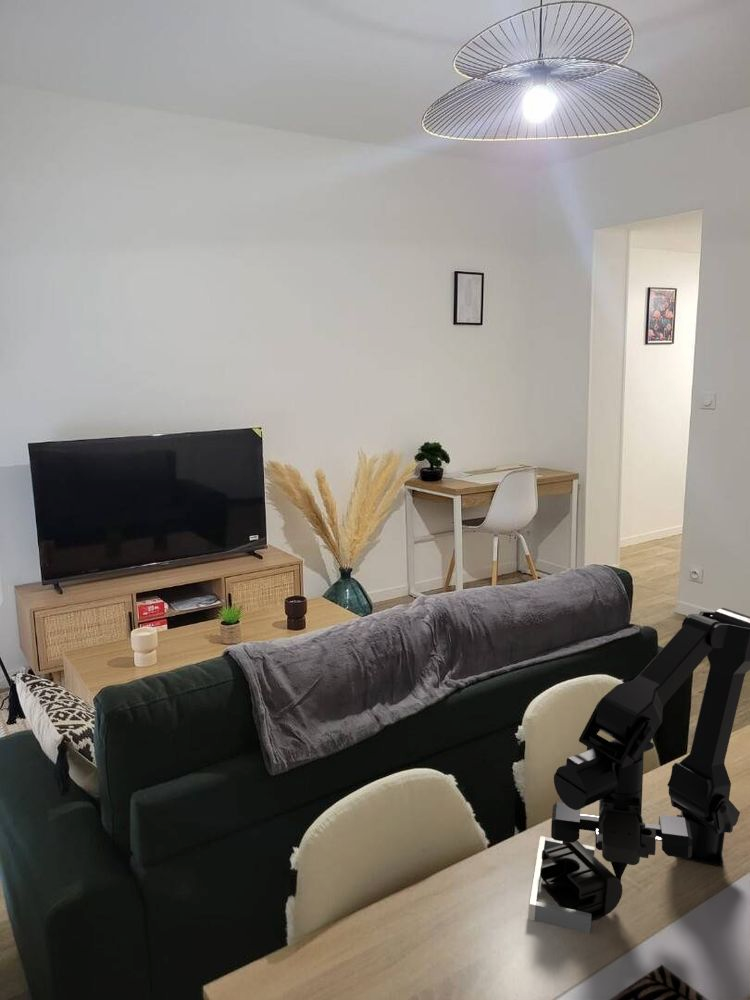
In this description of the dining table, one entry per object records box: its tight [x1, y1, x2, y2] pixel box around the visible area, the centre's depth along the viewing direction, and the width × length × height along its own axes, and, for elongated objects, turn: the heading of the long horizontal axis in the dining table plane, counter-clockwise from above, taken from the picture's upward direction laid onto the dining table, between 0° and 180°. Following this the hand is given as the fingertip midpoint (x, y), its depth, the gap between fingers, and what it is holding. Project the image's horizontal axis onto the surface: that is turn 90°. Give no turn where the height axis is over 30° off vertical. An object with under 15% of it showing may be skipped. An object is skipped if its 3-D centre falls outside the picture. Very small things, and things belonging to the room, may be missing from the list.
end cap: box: [540, 839, 623, 923], centre depth 112 cm, size 10×7×7 cm
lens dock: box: [528, 835, 596, 934], centre depth 114 cm, size 8×16×2 cm, turn 163°
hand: (617, 881), depth 112 cm, fingers closed
